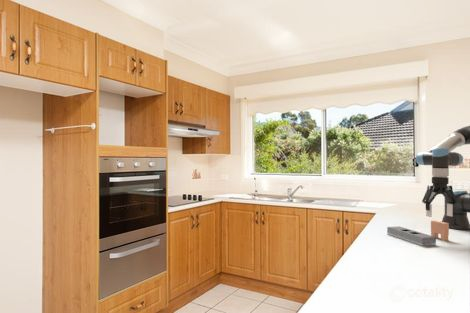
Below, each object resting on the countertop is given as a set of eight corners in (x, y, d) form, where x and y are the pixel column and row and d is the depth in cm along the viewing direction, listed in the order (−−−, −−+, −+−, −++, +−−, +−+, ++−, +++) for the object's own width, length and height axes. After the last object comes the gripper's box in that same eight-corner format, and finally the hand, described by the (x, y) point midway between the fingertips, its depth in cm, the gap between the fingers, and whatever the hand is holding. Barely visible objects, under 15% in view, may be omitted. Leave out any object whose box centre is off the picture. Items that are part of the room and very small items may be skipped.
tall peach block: (435, 236, 169) (435, 220, 169) (448, 240, 161) (448, 223, 161) (430, 236, 168) (431, 220, 168) (443, 240, 160) (444, 223, 160)
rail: (399, 233, 175) (399, 226, 175) (435, 245, 152) (435, 237, 152) (387, 234, 173) (387, 226, 173) (422, 246, 150) (422, 237, 150)
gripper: (452, 176, 171) (451, 214, 171) (415, 175, 165) (414, 215, 165) (465, 177, 164) (464, 217, 164) (426, 176, 158) (425, 217, 158)
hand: (439, 216), depth 164 cm, fingers open, 13 cm apart
